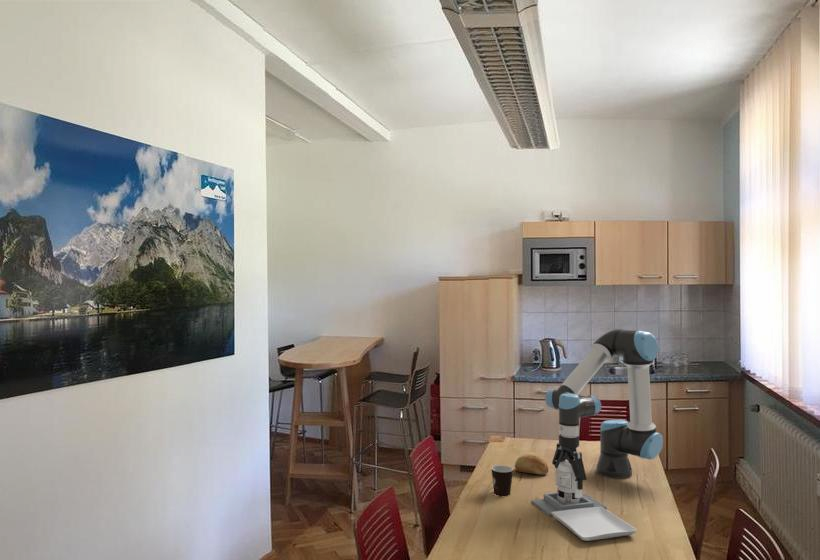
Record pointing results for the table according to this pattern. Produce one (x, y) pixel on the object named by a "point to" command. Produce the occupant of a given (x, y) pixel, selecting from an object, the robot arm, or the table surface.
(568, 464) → the supplement can
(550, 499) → the dock
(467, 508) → the table surface
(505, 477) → the coffee mug
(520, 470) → the bread roll
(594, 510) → the salad plate
